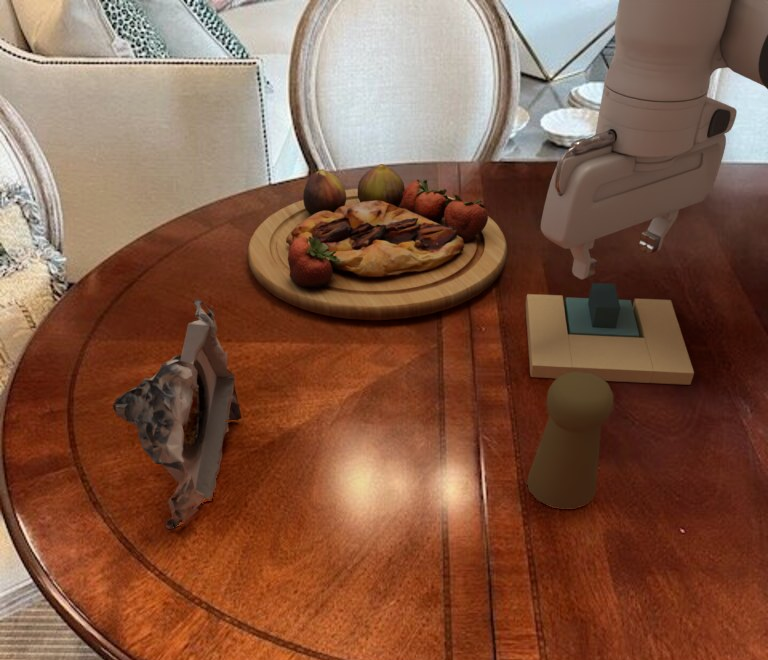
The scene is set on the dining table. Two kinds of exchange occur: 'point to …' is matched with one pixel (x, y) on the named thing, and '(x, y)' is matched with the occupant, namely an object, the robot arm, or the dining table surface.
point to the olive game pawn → (571, 441)
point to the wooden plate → (377, 249)
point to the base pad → (608, 345)
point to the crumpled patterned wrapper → (186, 415)
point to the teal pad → (584, 324)
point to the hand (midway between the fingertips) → (616, 262)
